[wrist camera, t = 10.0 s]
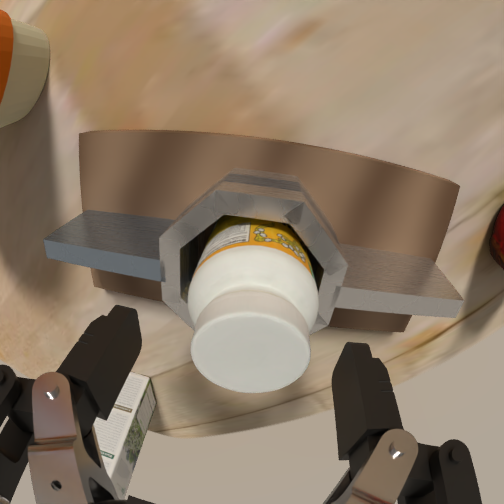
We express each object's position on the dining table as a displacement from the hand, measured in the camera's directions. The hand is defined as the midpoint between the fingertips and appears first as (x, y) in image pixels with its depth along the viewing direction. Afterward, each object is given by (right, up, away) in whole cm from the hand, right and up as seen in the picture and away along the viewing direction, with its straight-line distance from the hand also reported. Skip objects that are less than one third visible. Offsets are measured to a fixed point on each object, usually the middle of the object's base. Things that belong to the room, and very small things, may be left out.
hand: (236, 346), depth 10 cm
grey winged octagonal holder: (+1, +4, +8) cm, 9 cm away
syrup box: (-13, -12, +19) cm, 26 cm away
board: (+1, +5, +9) cm, 10 cm away
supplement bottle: (+1, +4, +8) cm, 9 cm away
